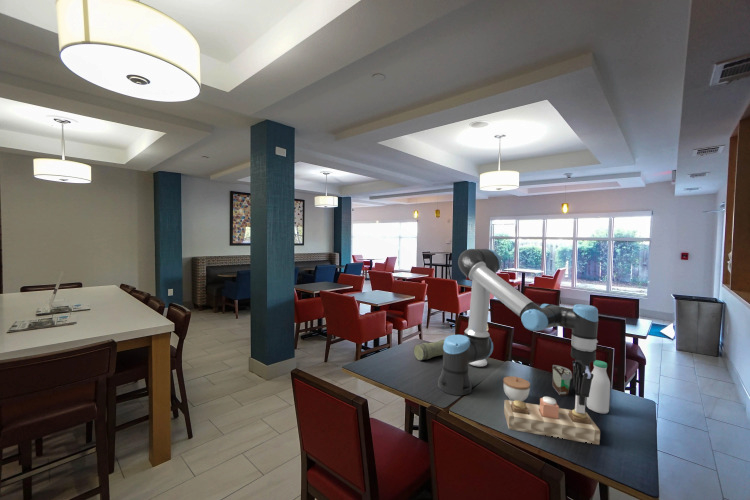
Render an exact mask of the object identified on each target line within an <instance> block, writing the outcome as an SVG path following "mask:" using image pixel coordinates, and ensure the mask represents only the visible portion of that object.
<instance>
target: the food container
mask: <svg viewBox="0 0 750 500" xmlns="http://www.w3.org/2000/svg"><path fill="white" fill-rule="evenodd" d="M572 379H573V372H572V371H571V370H570V369H569V368H567V367H564V366H561V365H557V364H552V387H553V389H554V390H555V391H556V392H557V394H558V395H559V396H562V397H563V396H567V395H569V393H570V392H569V391H570V386H571V385H570V384H571V380H572Z"/></svg>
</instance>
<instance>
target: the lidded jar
mask: <svg viewBox="0 0 750 500" xmlns="http://www.w3.org/2000/svg"><path fill="white" fill-rule="evenodd" d="M502 380H503V381H502V383H503V391H504V393H505V395H506V397H507V398H508V400H510V401H515V400H519V401H523V402H525V400H527V398H528V397H529V395H530V389H531V383H530V382H529V381H528V380H526V379H524V378H522V377H518V376H513V375H512V376H511V375H509V376H505V377H504V378H503V379H502Z"/></svg>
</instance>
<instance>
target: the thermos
mask: <svg viewBox="0 0 750 500" xmlns="http://www.w3.org/2000/svg"><path fill="white" fill-rule="evenodd" d="M444 340H445V338H443V339H439V340H437V341H434V342H422V343H418V344H416V345H414V347H413V354H414V357H415V358H416V360H418V361H425V360H429V359H431V358H434V357H438V356H443V345H444Z"/></svg>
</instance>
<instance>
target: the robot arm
mask: <svg viewBox="0 0 750 500" xmlns="http://www.w3.org/2000/svg"><path fill="white" fill-rule="evenodd" d="M457 264H458V269H459V270H460V272H461V273H462V274H463V275H464V276H465V277H466V278H468V279H469V280H470V281H471V293H470V303H469V304H470V305H469V314H468V315H469V317H468V326H467V328H466V329H465V330H464V334H451V335H448V336H446V337H445V338H444V339H445V340H444V345H443V355H442V370H441V373H440V374H439V377H438V379H437V380H438V381H437V386H438V389H440V390H441V391H442V392H444V393H447V394H449V395H453V396H465V395H469V394H470V393H472V390H473V389H472V388H473V386H472V382H471V378H470V375H469V374H470V373H469V366H470V364H469V363H472V362H475V361H478V360H483V359H487V358H489V357H490V356H491V355H492V353H493V351H494V342H493V341H492V338H491V337H490V332H488V331H487V325H488V318H489V310H490V299H491V295H492V296H493V297H495V298H496V300H498V301H500V302H501V303H502V304H504V305H505V307H506V308H508V309H509V310H511V311H512V312H513V313H514V314H515V315H517V316H518V317H519V318H520V319H521V323H522V325H523V326H524V327H523V328H525V329H527V330H528V331H530V332H538V331H539V332H540V331H543V330H545V329H550V328H554V327H555V328H556V327H561V328H565V329H571V339H570V340H571V347H570V356H571V358H572V359H574V360H572V362H571V363H572V379H573V380H572V381H573V389H575V390H574V391H575V399H574V400H575V401H574V402H575V403H574V409H575V411H576V413H583V414H585V412H586V402H587V397H589V393H590V388H591V382H592V379H593V374H591V373H592V370H591V369H592V367H591V363H594V361H595V360H597V351H596V350H597V344H598V343H599V340H597V339H598V327H599V310H598V308H597V307H596V306H594V305H590V304H581V303H576V304H574V305H573V308H570V307H565V306H559V305H556V304H553V303H551V304H549V303H542V304H541V305H538V304H536V303H535V302H534V301H532V300H531V299H529V298H528V297H527V296H526V295H524V294H523V293H522V292H521V291H519V290H518V289H517V288H515V287H514V286H513V285H512V284H510V283H509V282H507V281H506V280H505V279H503V278H502V277H500V276H499V275H498V274H497V272H499V271H500V270H501V267H502V258H501V256H500V255H499V253H498V252H496V251H495V250H494V249H488V248H469V249H465V250H464V251H462V252H461V253H460V255H459V257H458V261H457Z"/></svg>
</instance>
